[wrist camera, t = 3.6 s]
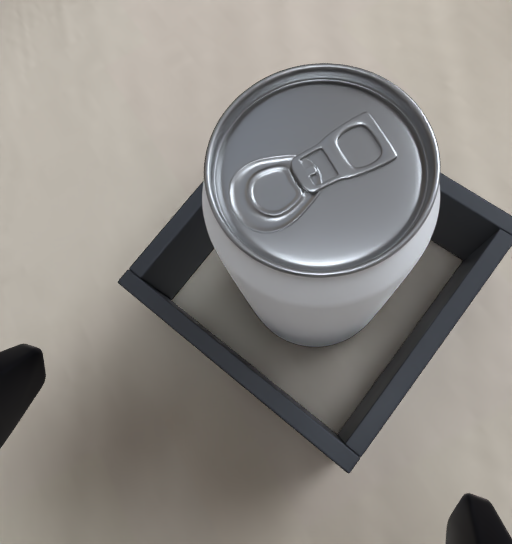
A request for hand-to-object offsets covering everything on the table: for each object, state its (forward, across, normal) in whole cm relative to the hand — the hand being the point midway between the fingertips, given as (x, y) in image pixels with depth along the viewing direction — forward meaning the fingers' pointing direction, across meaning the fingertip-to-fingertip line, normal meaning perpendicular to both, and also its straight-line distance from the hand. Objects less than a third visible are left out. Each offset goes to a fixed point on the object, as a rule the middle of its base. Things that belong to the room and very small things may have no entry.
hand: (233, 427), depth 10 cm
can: (+13, 0, +4) cm, 14 cm away
